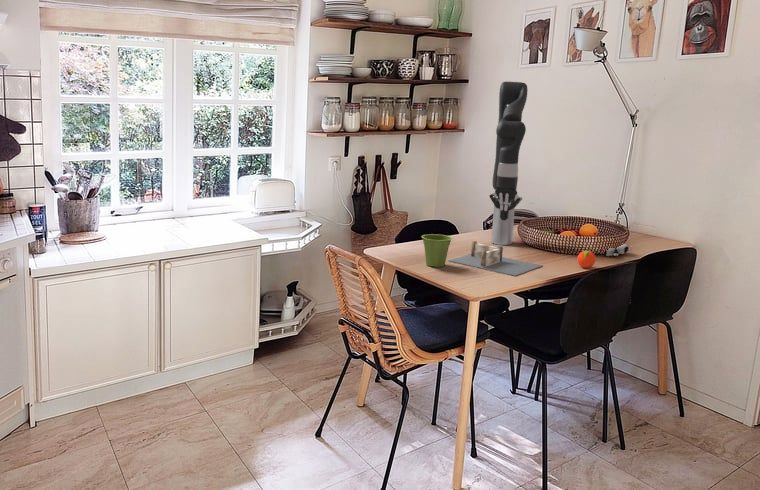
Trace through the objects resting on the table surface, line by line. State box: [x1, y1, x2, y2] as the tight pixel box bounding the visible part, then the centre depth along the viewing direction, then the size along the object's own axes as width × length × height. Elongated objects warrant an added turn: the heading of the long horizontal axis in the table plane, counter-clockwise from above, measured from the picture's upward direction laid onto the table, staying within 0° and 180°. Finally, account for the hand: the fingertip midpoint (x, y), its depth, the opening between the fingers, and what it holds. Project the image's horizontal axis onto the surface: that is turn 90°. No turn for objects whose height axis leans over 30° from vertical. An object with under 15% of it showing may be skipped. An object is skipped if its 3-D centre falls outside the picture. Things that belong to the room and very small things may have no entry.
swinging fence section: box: [481, 245, 504, 266], centre depth 263 cm, size 14×2×6 cm, turn 140°
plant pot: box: [421, 233, 453, 268], centre depth 259 cm, size 12×12×11 cm
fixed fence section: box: [470, 240, 498, 258], centre depth 272 cm, size 12×2×6 cm, turn 50°
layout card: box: [448, 253, 543, 277], centre depth 266 cm, size 22×30×1 cm
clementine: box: [576, 249, 597, 269], centre depth 264 cm, size 8×7×7 cm
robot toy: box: [603, 243, 633, 257], centre depth 290 cm, size 12×4×15 cm
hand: (503, 220), depth 256 cm, fingers closed
